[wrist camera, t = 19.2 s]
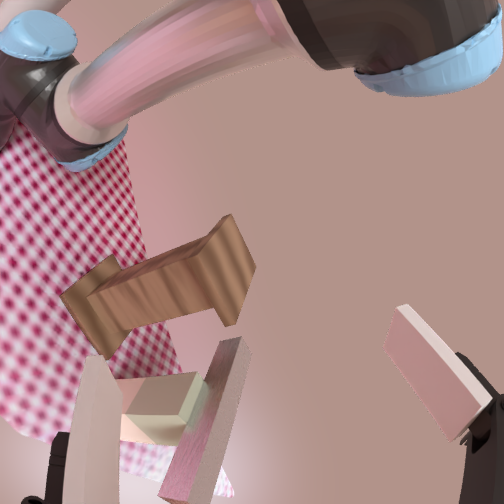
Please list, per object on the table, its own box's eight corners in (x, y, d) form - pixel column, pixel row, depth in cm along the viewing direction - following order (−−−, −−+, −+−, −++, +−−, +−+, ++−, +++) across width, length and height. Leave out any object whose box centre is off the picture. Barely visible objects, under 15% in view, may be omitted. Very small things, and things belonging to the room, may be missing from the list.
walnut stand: (104, 360, 45) (242, 336, 37) (59, 296, 41) (189, 239, 32) (141, 312, 60) (261, 276, 51) (108, 256, 55) (225, 202, 47)
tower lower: (116, 439, 40) (156, 444, 37) (87, 410, 37) (124, 414, 34) (134, 408, 47) (173, 408, 44) (108, 379, 45) (146, 377, 41)
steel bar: (178, 508, 23) (207, 513, 22) (157, 495, 22) (186, 501, 21) (230, 358, 48) (251, 353, 47) (219, 341, 47) (241, 336, 46)
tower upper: (156, 444, 37) (210, 447, 34) (124, 414, 34) (177, 415, 31) (173, 408, 44) (223, 405, 41) (146, 377, 41) (197, 371, 38)
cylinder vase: (-10, 30, 27) (65, -54, 19) (21, 57, 37) (99, -21, 29) (-40, 55, 21) (36, -48, 13) (-5, 84, 32) (77, -10, 24)
